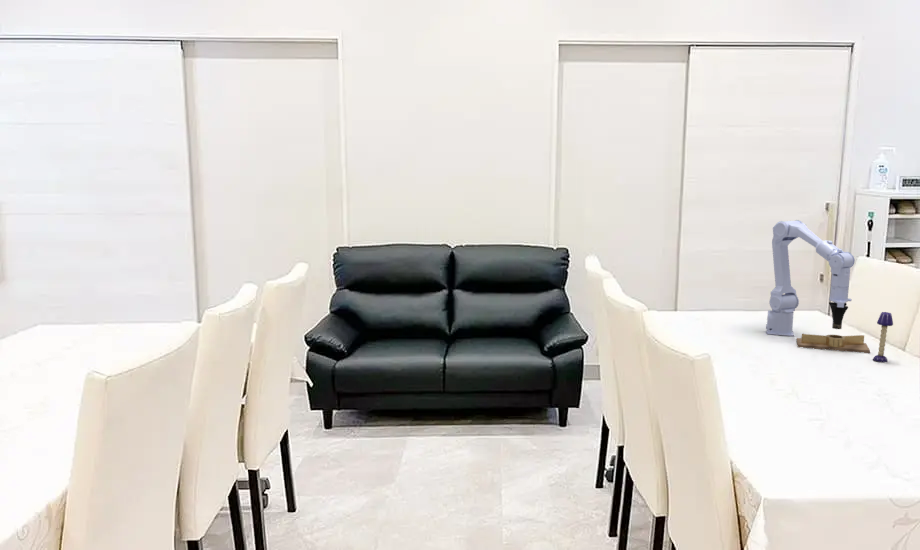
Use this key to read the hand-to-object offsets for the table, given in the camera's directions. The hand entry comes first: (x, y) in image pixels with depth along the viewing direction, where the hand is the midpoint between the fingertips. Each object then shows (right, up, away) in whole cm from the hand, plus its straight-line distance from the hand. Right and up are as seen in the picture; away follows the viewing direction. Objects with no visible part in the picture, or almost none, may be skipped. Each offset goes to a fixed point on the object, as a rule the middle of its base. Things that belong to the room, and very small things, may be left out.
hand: (836, 323), depth 262 cm
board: (0, -9, +3) cm, 9 cm away
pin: (0, -2, 0) cm, 2 cm away
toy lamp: (+7, -12, -16) cm, 21 cm away
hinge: (0, -8, +2) cm, 8 cm away
